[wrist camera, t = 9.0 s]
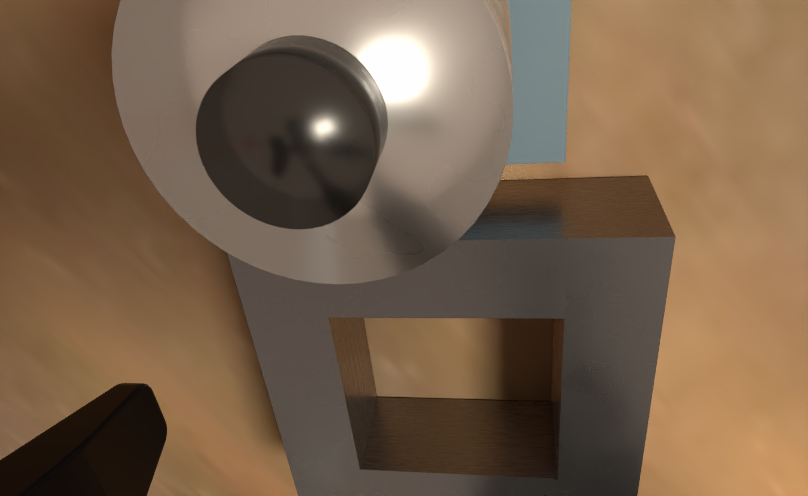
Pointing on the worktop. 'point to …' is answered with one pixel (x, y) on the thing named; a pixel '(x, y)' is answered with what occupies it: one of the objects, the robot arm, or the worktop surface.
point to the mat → (539, 80)
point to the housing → (481, 298)
